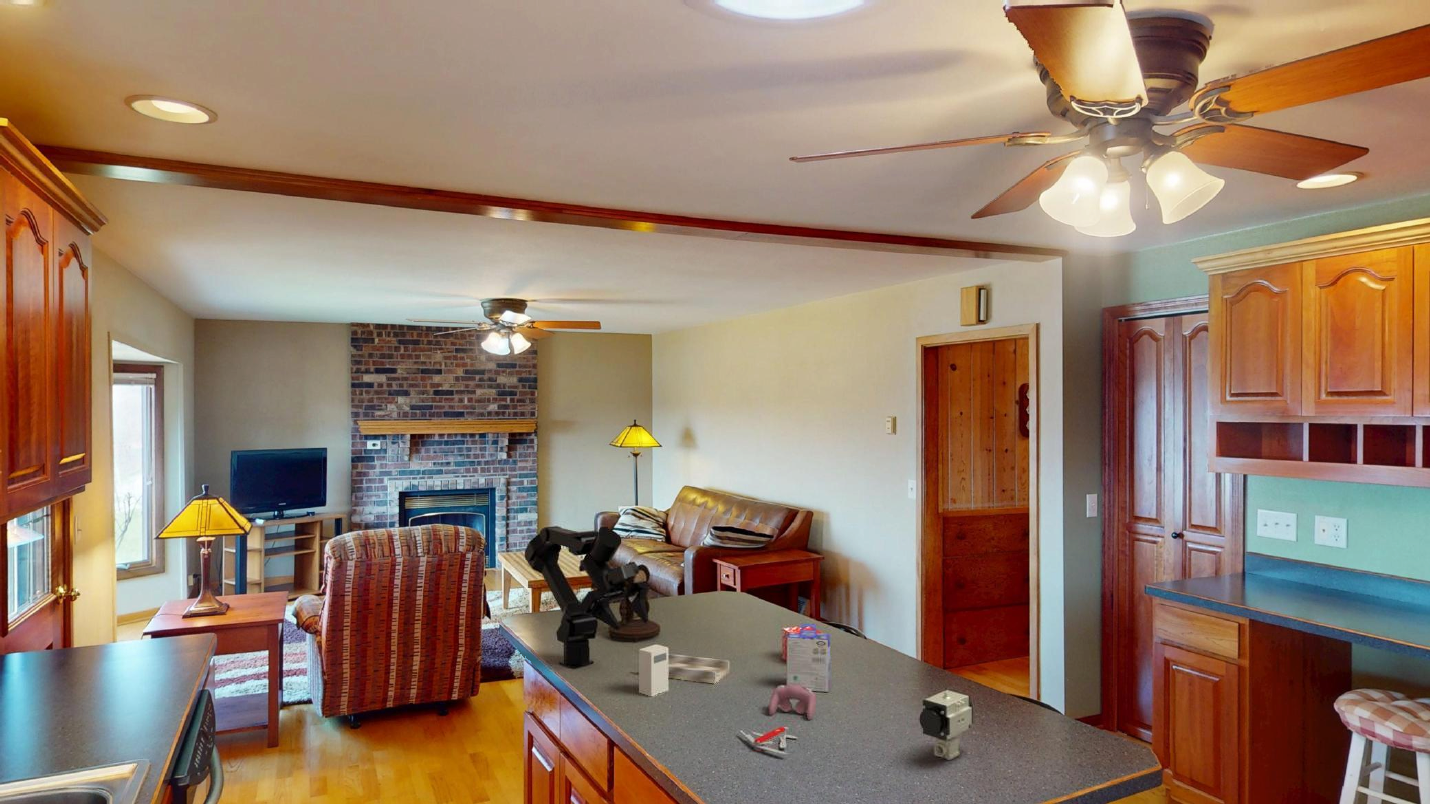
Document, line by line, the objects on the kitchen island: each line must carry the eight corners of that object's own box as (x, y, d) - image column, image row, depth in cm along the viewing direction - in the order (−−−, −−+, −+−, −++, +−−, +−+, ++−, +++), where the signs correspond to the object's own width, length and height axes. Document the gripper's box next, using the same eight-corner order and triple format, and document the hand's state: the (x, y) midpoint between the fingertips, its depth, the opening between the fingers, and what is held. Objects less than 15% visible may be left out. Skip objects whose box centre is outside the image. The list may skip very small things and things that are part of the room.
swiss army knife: (762, 726, 172) (761, 716, 172) (818, 742, 164) (818, 731, 164) (727, 743, 163) (727, 733, 163) (785, 761, 155) (785, 750, 155)
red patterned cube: (810, 655, 221) (810, 625, 221) (823, 664, 214) (823, 633, 214) (782, 658, 218) (782, 628, 219) (794, 667, 211) (794, 636, 211)
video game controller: (816, 723, 178) (819, 688, 181) (812, 720, 174) (815, 685, 177) (771, 717, 181) (775, 683, 184) (766, 714, 177) (770, 680, 180)
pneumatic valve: (918, 761, 155) (918, 695, 155) (952, 743, 163) (952, 681, 163) (944, 770, 150) (944, 703, 151) (978, 752, 159) (978, 688, 159)
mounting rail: (638, 674, 205) (638, 663, 205) (655, 663, 214) (655, 652, 214) (714, 684, 197) (714, 672, 198) (729, 672, 207) (729, 660, 207)
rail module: (638, 693, 191) (639, 649, 192) (655, 687, 196) (656, 644, 196) (651, 697, 189) (651, 652, 189) (668, 691, 193) (668, 647, 193)
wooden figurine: (632, 626, 250) (632, 559, 250) (670, 634, 241) (670, 565, 242) (597, 637, 238) (597, 567, 238) (637, 646, 229) (637, 573, 230)
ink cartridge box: (830, 685, 197) (830, 623, 197) (829, 693, 192) (829, 629, 192) (788, 682, 199) (788, 621, 199) (786, 690, 194) (786, 627, 194)
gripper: (586, 556, 194) (620, 610, 186) (644, 547, 208) (677, 597, 201) (565, 587, 199) (597, 641, 191) (623, 576, 213) (654, 625, 205)
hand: (633, 625), depth 197 cm, fingers open, 9 cm apart
